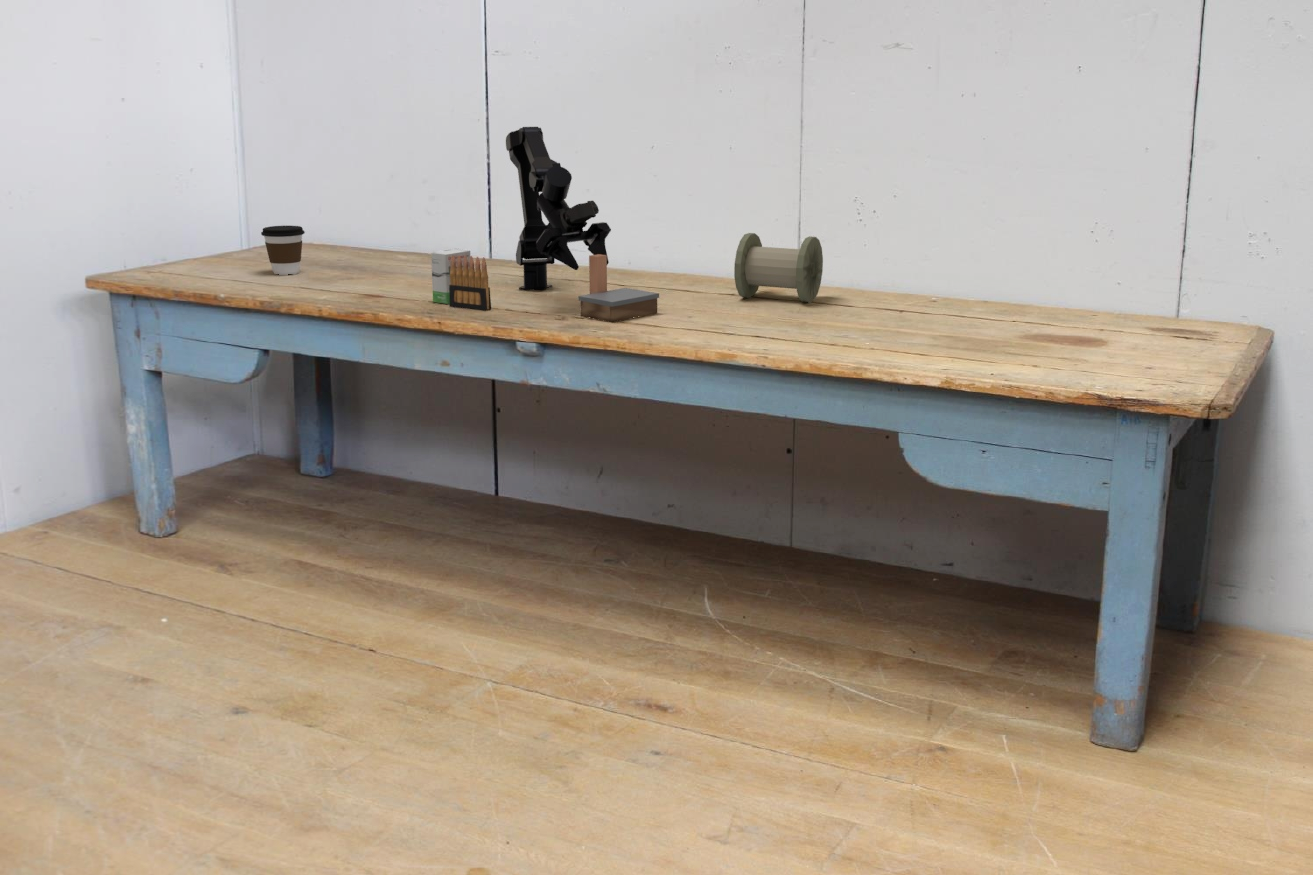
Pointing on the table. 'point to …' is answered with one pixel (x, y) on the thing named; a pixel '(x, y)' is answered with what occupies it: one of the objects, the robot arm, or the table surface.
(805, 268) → the spool
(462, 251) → the ink box
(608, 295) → the lid
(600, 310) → the tub
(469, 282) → the ammunition clip
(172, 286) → the table surface
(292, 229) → the coffee cup
